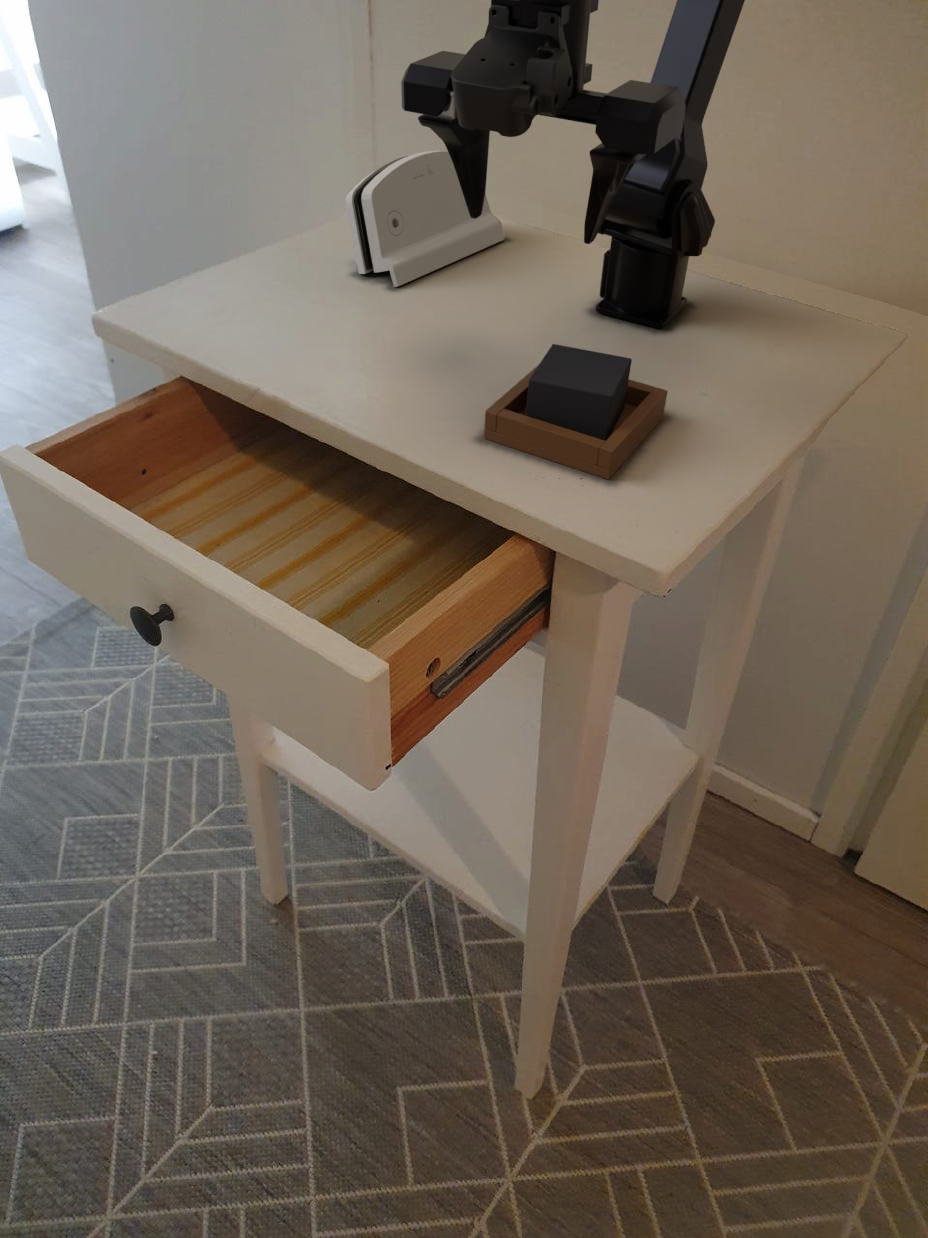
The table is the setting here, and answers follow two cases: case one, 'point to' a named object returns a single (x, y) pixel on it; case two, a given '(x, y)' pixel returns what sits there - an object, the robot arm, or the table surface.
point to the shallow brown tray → (570, 446)
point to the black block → (579, 390)
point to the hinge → (415, 218)
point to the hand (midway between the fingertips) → (531, 229)
